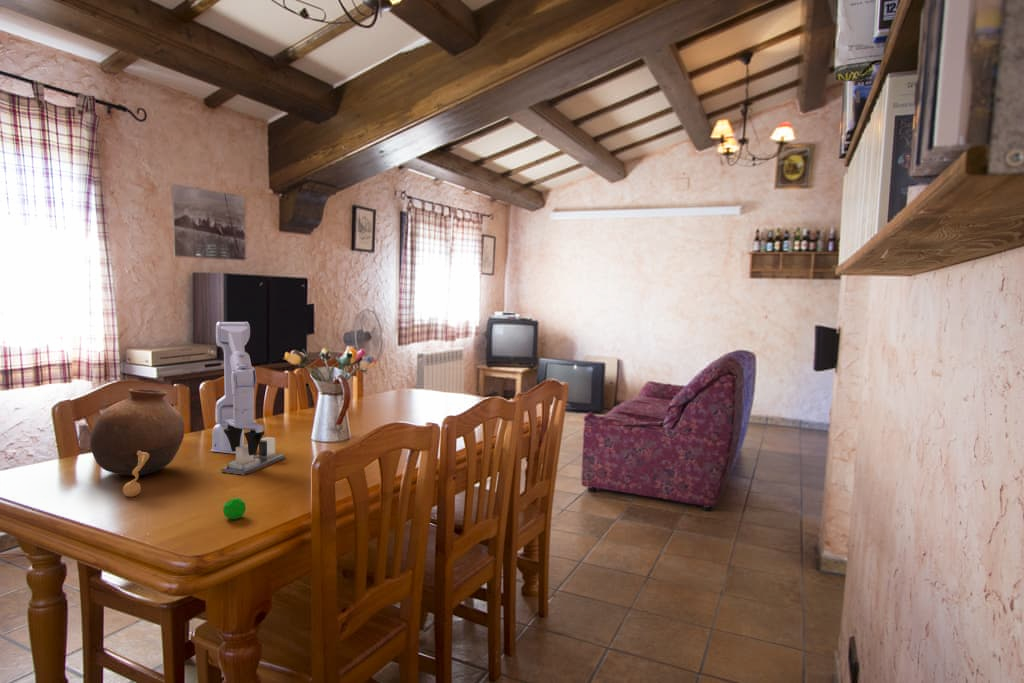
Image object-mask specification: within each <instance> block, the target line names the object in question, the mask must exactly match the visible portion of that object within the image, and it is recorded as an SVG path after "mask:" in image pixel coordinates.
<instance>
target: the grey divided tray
mask: <svg viewBox="0 0 1024 683" xmlns="http://www.w3.org/2000/svg"><path fill="white" fill-rule="evenodd" d="M283 458H284V459H286V454H282V453H281V454H280V453H276V437H272V436H265V437H262V438H261V440H260V442H259V445H258V454H257V455H256V454H255V455H254V461H252V462H249V463H246V464H236V459H235V460H233V461H230V462H227V463H226V467H223V468H221V470H220V472H226V473H225V474H229V473H233V474H232V475H237V474H241V475H240V476H246V475H248V474H247V473H249V474H251V473H253V472H255V470H256V471H258V470H260V469H263V468H265V467H267V465H268V466H269V464H270V465H272V464H275V463H277V462H279V461H281V459H282V460H283ZM276 461H277V462H276ZM274 462H275V463H274ZM271 463H272V464H271ZM264 466H265V467H264ZM262 467H263V468H262ZM259 468H260V469H259ZM257 469H258V470H257ZM252 471H253V472H252ZM250 472H251V473H250ZM245 474H246V475H245Z"/></svg>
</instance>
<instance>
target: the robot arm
mask: <svg viewBox="0 0 1024 683" xmlns="http://www.w3.org/2000/svg"><path fill="white" fill-rule="evenodd" d="M250 337H251V326H250V323H249V322H248V321H217V322H216V324H215V343H216V346H218V347H220V348H222V351H223V362H224V363H223V365H224V366H223V368H224V370H223V371H224V374H223V375H224V381H223V382H224V395H223V396H222V397H220V398H219V399H218V400H216V402H215V409H214V412H215V414H214V417H215V423H216V424H215V425H214V426H213V428H212V433H211V434H212V435H211V440H212V442H211V443H212V444H211V449H210V451H211V452H213V453H215V452H216V453H223V454H224V453H226V454H232V455H233V454H236V447H239V446H243V445H245V442H244V441H245V439H244V437H245V438H246V443H247V445H248V453H249V455H254V456H255V455H256V454H257V452H258V449H259V442H260V440H261V439H262V438H263V436H264V434H265V431H264V425H262V424H260V423H258V421H257V420H255V388H256V386H257V374H256V369H255V368H254V366H252V362H251V358H250V354H249V353H248V352H247V351H246V349H245V346H246V345H247V343H248V342H249V340H250ZM244 430H245V431H247V432H245V431H244Z"/></svg>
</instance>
